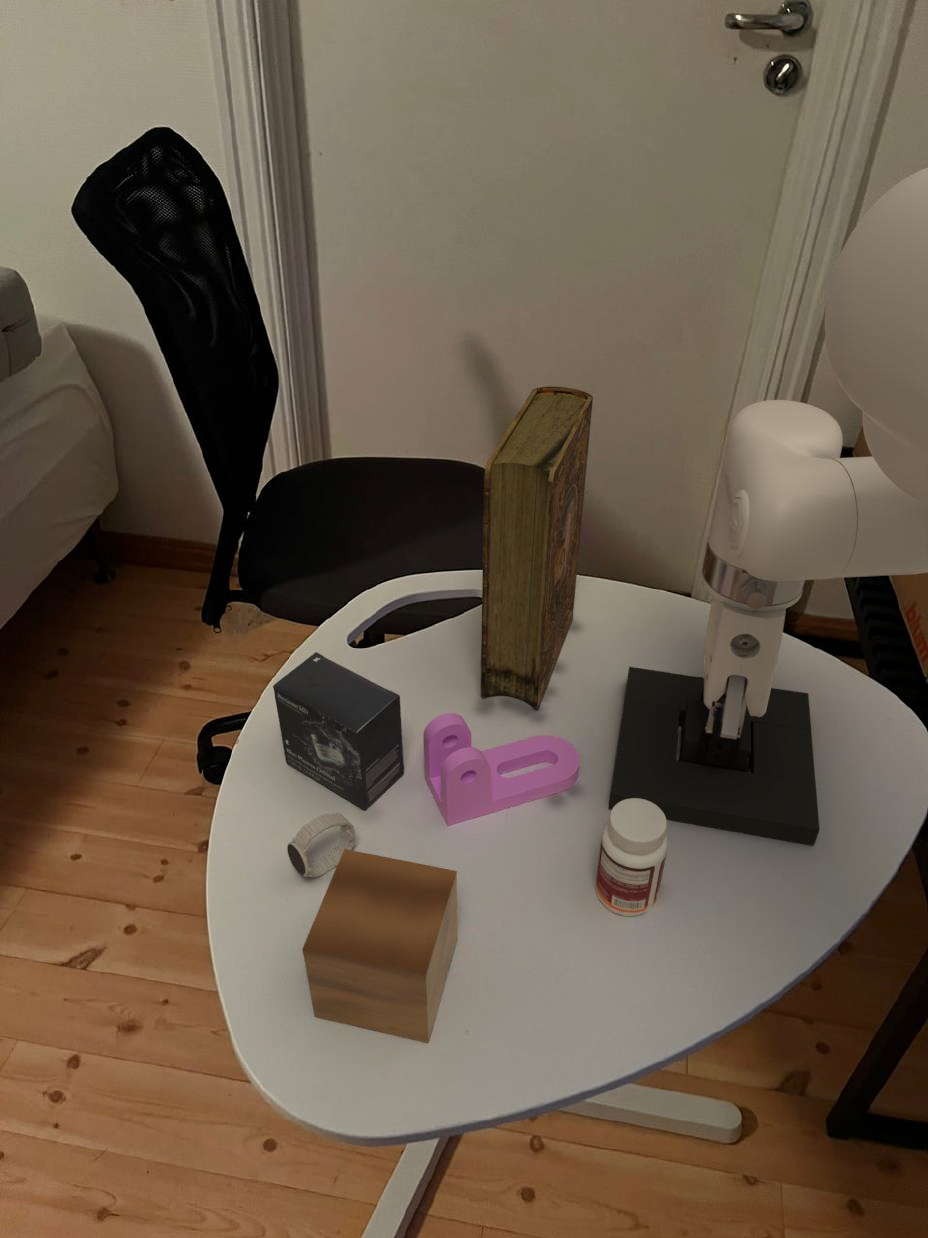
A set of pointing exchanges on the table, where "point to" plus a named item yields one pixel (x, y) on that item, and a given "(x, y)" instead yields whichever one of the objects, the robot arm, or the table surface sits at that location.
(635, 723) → the base pad
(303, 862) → the wristwatch
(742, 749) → the pad
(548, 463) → the book
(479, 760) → the bracket
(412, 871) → the wooden block
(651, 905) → the pill bottle
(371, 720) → the box
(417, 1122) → the table surface
